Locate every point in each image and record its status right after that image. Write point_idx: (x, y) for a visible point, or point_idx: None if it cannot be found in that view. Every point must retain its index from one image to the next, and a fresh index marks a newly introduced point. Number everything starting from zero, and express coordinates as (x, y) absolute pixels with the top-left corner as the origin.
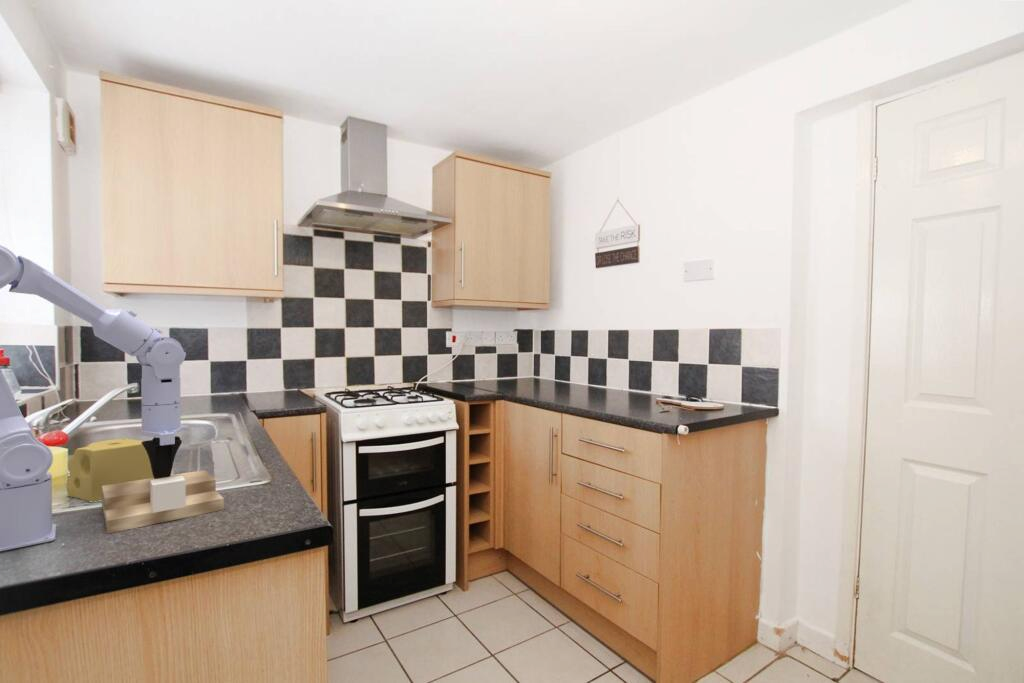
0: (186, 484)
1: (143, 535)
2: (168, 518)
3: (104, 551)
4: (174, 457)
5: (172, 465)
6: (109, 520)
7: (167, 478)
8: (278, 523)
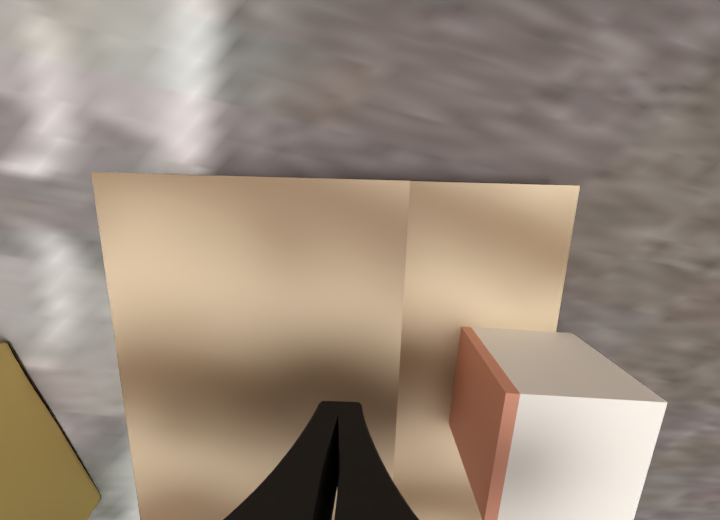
0: (396, 317)
1: None
2: None
3: (657, 510)
4: (398, 490)
5: (372, 446)
6: None
7: (536, 462)
8: None
